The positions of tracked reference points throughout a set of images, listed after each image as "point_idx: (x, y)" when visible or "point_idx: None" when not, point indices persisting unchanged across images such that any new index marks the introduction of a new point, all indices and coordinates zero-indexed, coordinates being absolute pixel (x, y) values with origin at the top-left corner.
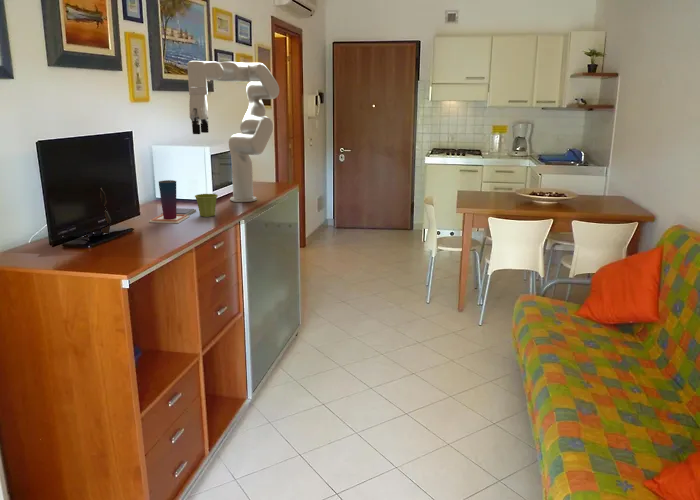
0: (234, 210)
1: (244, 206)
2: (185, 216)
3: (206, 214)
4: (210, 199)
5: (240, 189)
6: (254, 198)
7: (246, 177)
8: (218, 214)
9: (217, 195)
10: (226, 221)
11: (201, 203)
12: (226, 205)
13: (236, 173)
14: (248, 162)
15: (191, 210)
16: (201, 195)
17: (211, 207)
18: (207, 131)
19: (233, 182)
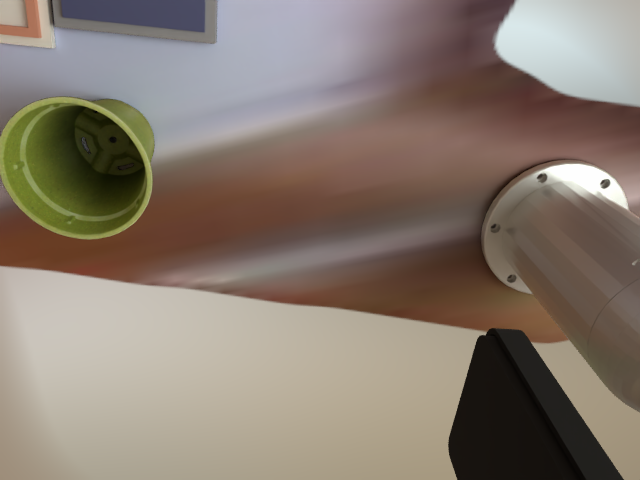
0: (269, 239)
1: (374, 264)
2: (10, 34)
3: (70, 147)
4: (37, 204)
5: (525, 257)
6: (525, 289)
7: (562, 330)
8: (158, 185)
9: (94, 238)
10: (10, 257)
11: (31, 142)
12: (402, 171)
13: (585, 288)
14: (638, 411)
15: (164, 27)
16: (120, 125)
17: (71, 186)
18: (452, 460)
19: (581, 230)
